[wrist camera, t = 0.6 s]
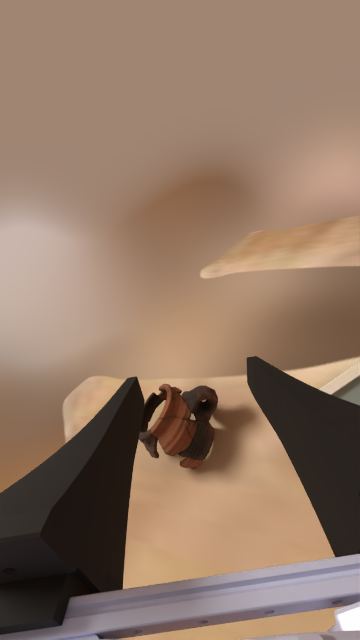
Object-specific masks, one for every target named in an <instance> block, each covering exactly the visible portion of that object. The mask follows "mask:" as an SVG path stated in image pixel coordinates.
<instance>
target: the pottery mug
mask: <svg viewBox="0 0 360 640" xmlns="http://www.w3.org/2000/svg"><path fill="white" fill-rule="evenodd" d="M159 390H160V391H161V393H160V394H159V395H156V394H155V393H152V394H151V395H150V396H149V398H148V399H147V400H146V402H145V404H144V412H143V420H142V425H141V430H140V434H139V440H140V441H141V442H143V443H144V445H145V447H146V449H147V451H148V452H149V453H150V455H151V456H152V457H154V458H159V454H158V452H157V441H158V440H159V443H160V445H161V446H162V449H163V450H164V452H165V453H166V454H168V455H170V456H174V455H176V454H177V453H178V454H179V455H180V456H183V457H187V458H186V459H184V460H183V461H181V462H180V466H181V467H184V468H195V467H197V466H198V465H199V464H200V463H201V462H202V461H203V460H204V459H205V458H206V456H207V454H208V453H209V451H210V448H211V446H212V442H213V434H214V429H213V427H212V426H211V424H210V423H209V420H210V418H211V415H212V414H213V412H214V411H215V410H216V407H217V403H218V397H217V395H216V392H215V390H213V389H211V388H209V387H207V386H198V387H196V388H194V389H193V390H191V391H189V392H188V391H185V392H184V393H183V394H182V396H181V395H180V393H181V392H182V391H181V390H180V389H178V388H176V387H171V386H170V385H168V384H163V385H161V386H160V387H159ZM164 400H166V403H165V406H164V408H163V411H162V413H161V415H160V417H159V418H158V420H157V421H156V423H155V424H154V425H153V426H152V427H151V429H150V430H148V431H147V429H148V422H150V420H151V418H152V415H153V413H154V411H155V409H156V408H157V407H158V406H159V405H160V404H161V403H162V402H163V401H164ZM202 400H206V401H205V402H202ZM191 413H193V414H194V416H195V419H196V420H190V417H191Z"/></svg>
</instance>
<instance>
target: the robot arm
mask: <svg viewBox="0 0 360 640" xmlns="http://www.w3.org/2000/svg"><path fill="white" fill-rule="evenodd" d="M247 382H248V385H249V387H250V390H251V392H252V394H253V396H254V398H255V400H256V401H257V403H258V405H259V406H260V408H261V409H262V411H263V413H264V414H265V416H266V417H267V419H268V421H269V422H270V424H271V425H272V427H273V429H274V430H275V432H276V433H277V435H278V437H279V439H280V440H281V442H282V444H283V446H284V448H285V450H286V452H287V454H288V456H289V458H290V460H291V462H292V464H293V466H294V468H295V470H296V472H297V474H298V476H299V478H300V480H301V482H302V484H303V486H304V489H305V491H306V493H307V495H308V497H309V499H310V501H311V503H312V506H313V508H314V510H315V512H316V514H317V516H318V519H319V521H320V523H321V525H322V528H323V530H324V532H325V534H326V537H327V539H328V541H329V543H330V546H331V548H332V550H333V553H334V555H335V558H328V559H322V560H315V561H309V562H302V563H295V564H289V565H282V566H275V567H269V568H262V569H255V570H249V571H242V572H236V573H229V574H222V575H216V576H209V577H202V578H196V579H189V580H183V581H176V582H169V583H163V584H156V585H149V586H143V587H136V588H129V589H123V573H124V558H125V544H126V532H127V520H128V509H129V499H130V490H131V481H132V473H133V465H134V459H135V453H136V449H137V444H138V439H139V434H140V430H141V425H142V420H143V412H144V397H143V394H142V391H141V388H140V385H139V382H138V379H137V377H131V378H127V379H126V381H125V382H124V383H123V384H122V385H121V387H120V388H119V389H118V390H117V392H116V393H115V394H114V395H113V396H112V398H111V399H110V400H109V401H108V402H107V404H106V405H105V406H104V407H103V408H102V409H101V410H100V411H99V412H98V413H97V415H96V416H95V417H94V418H93V419H92V420H91V421H90V422H89V423H88V424H87V425H86V426H85V427H84V428H83V429H82V430H81V431H80V432H79V433H77V434H76V435H75V436H74V437H73V438H72V439H71V440H70V441H68V442H67V443H66V444H65V445H64V446H63V447H61V448H60V449H59V450H58V451H57V452H56V453H54V454H53V455H52V456H51V457H49V458H48V459H47V460H46V461H44V462H43V463H42V464H40V465H39V466H38V467H36V468H35V469H34V470H32V471H31V472H30V473H28V474H27V475H26V476H25V477H23V478H22V479H20V480H19V481H17V482H16V483H14V484H13V485H11V486H10V487H9V488H7V489H6V490H4V491H3V492H1V493H0V640H118V639H121V638H128V637H135V636H142V635H149V634H155V633H162V632H169V631H176V630H183V629H190V628H196V627H203V626H210V625H217V624H224V623H231V622H237V621H244V620H251V619H258V618H265V617H272V616H278V615H285V614H292V613H299V612H306V611H313V610H320V609H326V608H333V607H340V606H346V607H343V608H340V609H338V610H335V619H336V623H335V625H334V626H332V627H331V628H330V629H329V630H328V631H327V632H312V633H297V634H284V635H274V636H265V637H256V638H249V639H242V640H360V405H357V404H354V403H352V402H349V401H346V400H343V399H341V398H338V397H335V396H333V395H330V394H328V393H326V392H323V391H321V390H319V389H316V388H314V387H312V386H310V385H308V384H306V383H304V382H302V381H300V380H298V379H296V378H294V377H292V376H290V375H288V374H286V373H284V372H283V371H281V370H279V369H277V368H276V367H274V366H272V365H270V364H269V363H267V362H265V361H263V360H262V359H260V358H258V357H257V356H255V357H249V358H247ZM347 605H349V606H347Z"/></svg>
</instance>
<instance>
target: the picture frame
mask: <svg viewBox="0 0 360 640" xmlns="http://www.w3.org/2000/svg"><path fill="white" fill-rule="evenodd" d="M319 390H321V391H323V392H326V393H328V394H330V395H333V396H335V397H338V398H341V399H343V400H346V401H349V402H352V403H354V404H357V405H360V361H359V362H358V363H357V364H355V365H354V366H352V367H351V368H349V369H348V370H346V371H345V372H343V373H342V374H340V375H339V376H337V377H336V378H335V379H333V380H332V381H330V382H329V383H327V384H326V385H324V386H323V387H321V388H320V389H319Z"/></svg>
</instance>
